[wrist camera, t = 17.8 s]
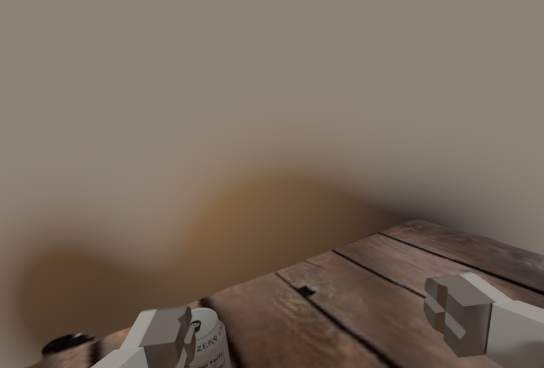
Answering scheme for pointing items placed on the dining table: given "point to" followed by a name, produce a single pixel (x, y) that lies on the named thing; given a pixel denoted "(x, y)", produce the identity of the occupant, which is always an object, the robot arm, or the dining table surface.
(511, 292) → the dining table surface
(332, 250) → the dining table surface
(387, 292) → the dining table surface
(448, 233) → the dining table surface
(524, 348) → the robot arm
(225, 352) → the energy drink can
